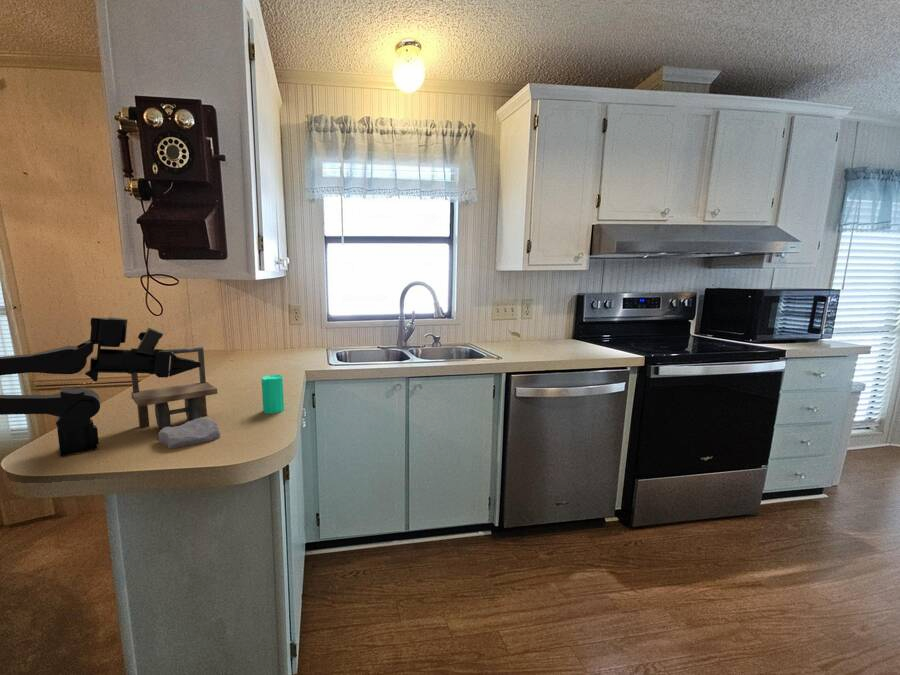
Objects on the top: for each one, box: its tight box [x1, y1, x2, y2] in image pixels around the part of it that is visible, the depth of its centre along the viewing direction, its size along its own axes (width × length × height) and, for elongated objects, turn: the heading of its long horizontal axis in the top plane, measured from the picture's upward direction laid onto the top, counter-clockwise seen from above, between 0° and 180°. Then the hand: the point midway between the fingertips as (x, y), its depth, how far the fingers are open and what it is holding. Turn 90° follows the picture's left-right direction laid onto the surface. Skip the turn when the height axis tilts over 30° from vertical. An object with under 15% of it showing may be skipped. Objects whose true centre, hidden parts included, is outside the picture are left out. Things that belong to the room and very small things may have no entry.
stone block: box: [158, 417, 221, 449], centre depth 106 cm, size 12×5×10 cm
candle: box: [261, 374, 285, 414], centre depth 129 cm, size 6×6×12 cm
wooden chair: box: [130, 346, 218, 431], centre depth 116 cm, size 18×11×20 cm, turn 133°
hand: (197, 363), depth 113 cm, fingers open, 9 cm apart
